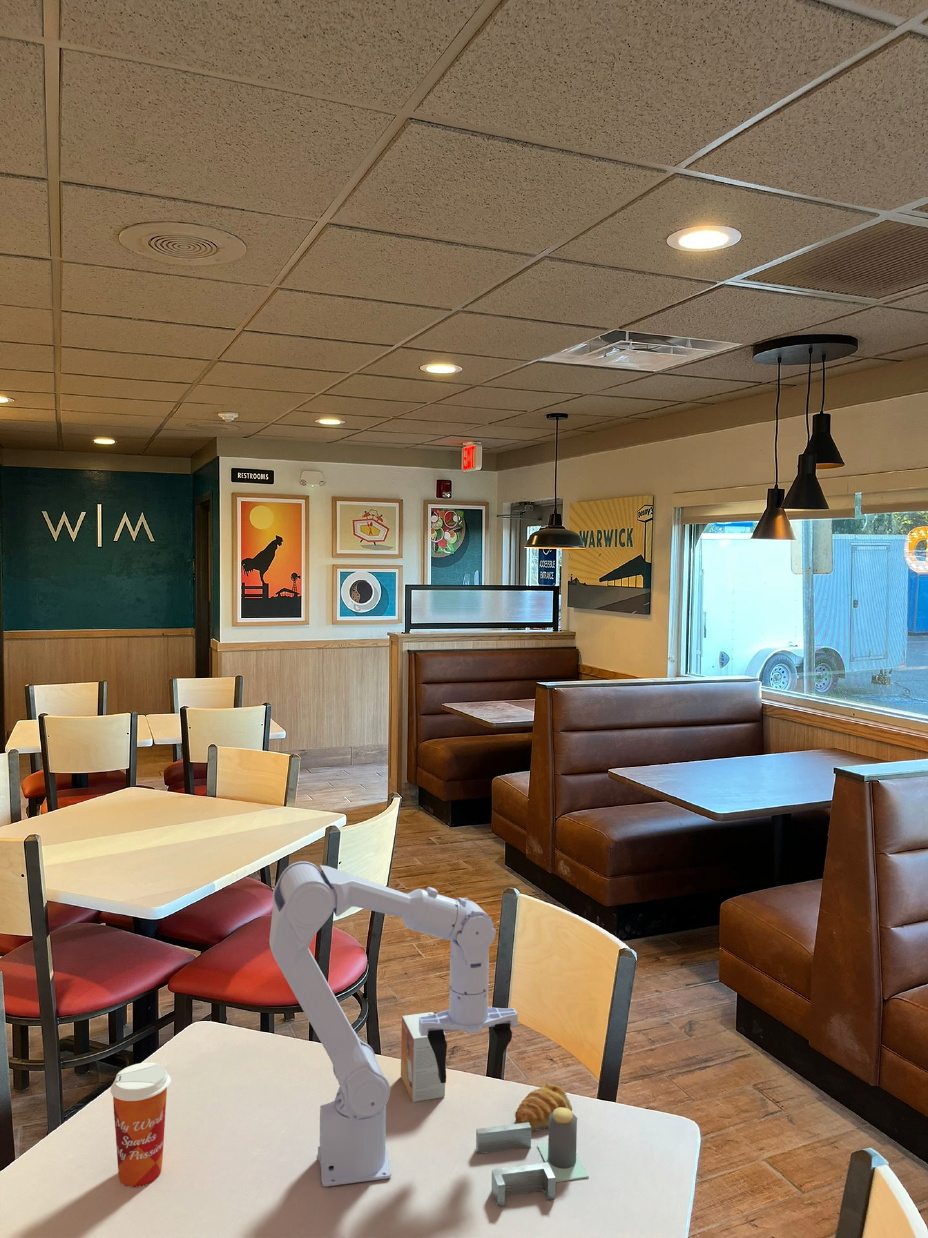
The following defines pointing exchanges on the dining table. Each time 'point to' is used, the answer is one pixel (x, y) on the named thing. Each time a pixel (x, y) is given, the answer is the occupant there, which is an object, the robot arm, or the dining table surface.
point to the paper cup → (140, 1122)
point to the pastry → (541, 1106)
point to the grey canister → (562, 1138)
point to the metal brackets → (519, 1176)
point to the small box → (419, 1062)
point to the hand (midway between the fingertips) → (467, 1076)
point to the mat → (564, 1174)
